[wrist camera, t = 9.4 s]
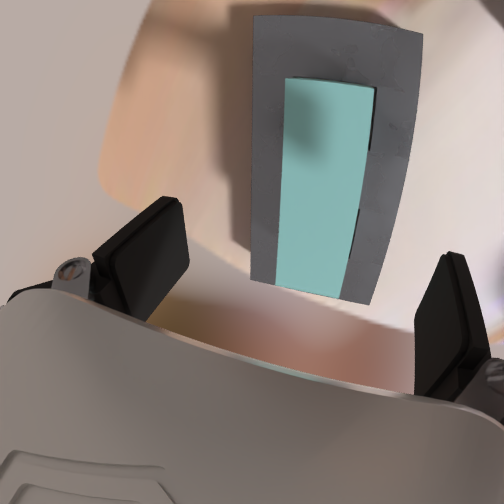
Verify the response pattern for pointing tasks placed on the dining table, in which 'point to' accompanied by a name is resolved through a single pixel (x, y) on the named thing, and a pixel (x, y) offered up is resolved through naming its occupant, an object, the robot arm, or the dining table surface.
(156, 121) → the dining table surface
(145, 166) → the dining table surface
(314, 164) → the clip
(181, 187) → the dining table surface
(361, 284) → the grey block with holes
